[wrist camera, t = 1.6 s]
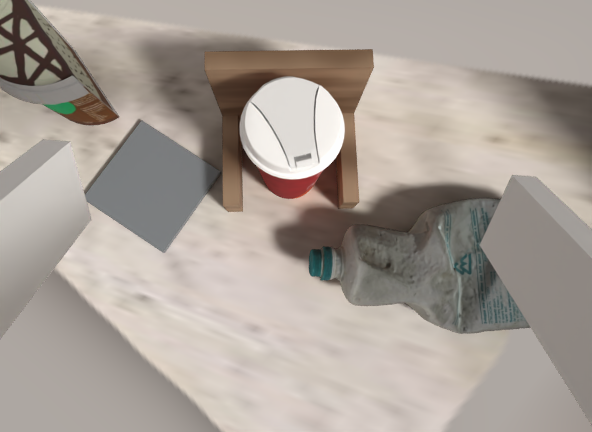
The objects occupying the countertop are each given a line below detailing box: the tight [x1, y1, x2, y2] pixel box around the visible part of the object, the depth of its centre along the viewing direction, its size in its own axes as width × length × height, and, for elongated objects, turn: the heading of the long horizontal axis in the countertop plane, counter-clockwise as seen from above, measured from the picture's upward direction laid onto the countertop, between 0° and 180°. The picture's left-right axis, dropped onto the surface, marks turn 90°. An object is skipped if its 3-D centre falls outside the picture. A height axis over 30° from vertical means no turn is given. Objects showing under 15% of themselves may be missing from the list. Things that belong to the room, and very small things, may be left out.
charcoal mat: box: [85, 121, 221, 253], centre depth 40 cm, size 10×10×1 cm
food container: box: [0, 0, 119, 125], centre depth 36 cm, size 12×6×10 cm, turn 35°
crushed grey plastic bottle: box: [309, 198, 531, 334], centre depth 36 cm, size 13×7×25 cm
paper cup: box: [240, 76, 345, 199], centre depth 34 cm, size 8×8×14 cm
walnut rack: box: [205, 49, 374, 212], centre depth 35 cm, size 10×13×12 cm
